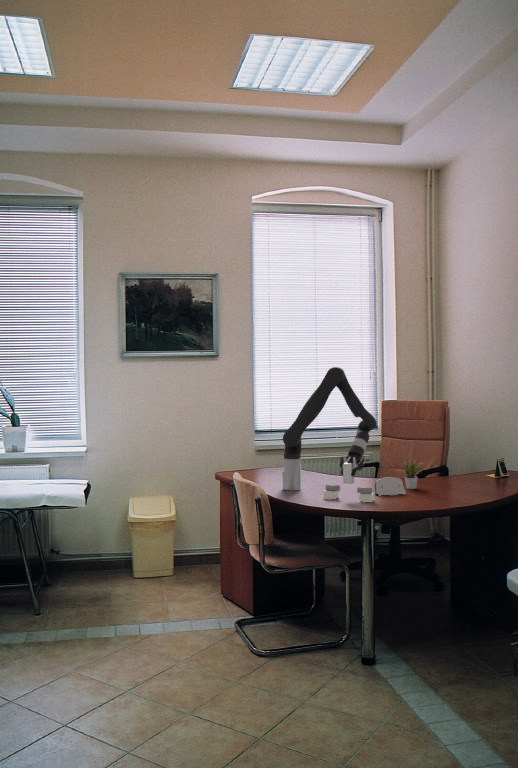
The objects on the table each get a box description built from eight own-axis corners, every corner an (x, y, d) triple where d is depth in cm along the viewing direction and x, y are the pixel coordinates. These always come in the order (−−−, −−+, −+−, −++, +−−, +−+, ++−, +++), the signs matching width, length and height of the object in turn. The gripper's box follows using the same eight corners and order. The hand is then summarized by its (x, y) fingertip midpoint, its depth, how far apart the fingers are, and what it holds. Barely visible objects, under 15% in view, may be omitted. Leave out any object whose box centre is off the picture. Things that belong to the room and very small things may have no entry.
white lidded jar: (323, 498, 346) (323, 485, 345) (327, 496, 351) (327, 483, 351) (337, 500, 343) (337, 486, 342) (341, 497, 348) (341, 484, 348)
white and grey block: (356, 501, 338) (356, 487, 338) (359, 499, 344) (359, 485, 343) (370, 503, 335) (370, 489, 335) (374, 500, 340) (374, 486, 340)
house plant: (425, 491, 363) (425, 461, 362) (399, 490, 365) (399, 460, 365) (424, 486, 377) (424, 457, 376) (399, 485, 379) (399, 457, 379)
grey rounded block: (378, 496, 351) (375, 477, 354) (374, 497, 355) (371, 478, 358) (406, 494, 356) (403, 475, 359) (402, 495, 361) (399, 477, 363)
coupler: (343, 483, 342) (342, 463, 341) (346, 481, 346) (345, 462, 345) (351, 483, 340) (351, 464, 339) (354, 482, 344) (354, 462, 343)
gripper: (343, 443, 352) (332, 469, 343) (367, 445, 344) (357, 472, 335) (348, 452, 357) (337, 478, 347) (372, 454, 348) (362, 481, 339)
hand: (347, 475), depth 341 cm, fingers closed on coupler, 5 cm apart
